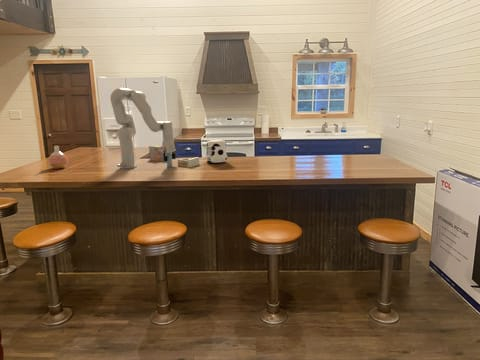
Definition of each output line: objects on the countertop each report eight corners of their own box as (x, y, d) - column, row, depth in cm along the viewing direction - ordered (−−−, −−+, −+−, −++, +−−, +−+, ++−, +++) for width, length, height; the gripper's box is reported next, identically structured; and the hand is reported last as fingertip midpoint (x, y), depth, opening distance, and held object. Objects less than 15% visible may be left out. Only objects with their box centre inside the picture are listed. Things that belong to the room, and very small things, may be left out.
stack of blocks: (171, 161, 303) (170, 146, 300) (165, 162, 298) (165, 147, 295) (155, 158, 315) (154, 145, 313) (149, 159, 310) (148, 145, 308)
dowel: (170, 168, 271) (169, 152, 268) (166, 167, 273) (165, 152, 270) (173, 167, 274) (172, 151, 272) (169, 166, 276) (168, 151, 274)
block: (188, 166, 272) (188, 160, 270) (177, 165, 276) (177, 159, 275) (195, 164, 280) (195, 158, 279) (185, 163, 285) (185, 157, 284)
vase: (60, 170, 269) (57, 147, 265) (45, 169, 271) (42, 146, 267) (72, 166, 282) (69, 144, 278) (57, 166, 284) (54, 144, 280)
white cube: (228, 161, 297) (228, 139, 293) (225, 164, 281) (225, 142, 277) (208, 161, 299) (207, 139, 295) (204, 164, 282) (203, 142, 278)
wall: (189, 167, 269) (189, 159, 268) (187, 167, 270) (187, 159, 269) (199, 164, 281) (199, 157, 279) (197, 164, 281) (196, 157, 280)
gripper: (171, 136, 278) (172, 158, 281) (156, 139, 263) (158, 161, 266) (178, 136, 274) (180, 158, 278) (164, 139, 259) (166, 162, 263)
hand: (169, 160), depth 272 cm, fingers open, 9 cm apart
